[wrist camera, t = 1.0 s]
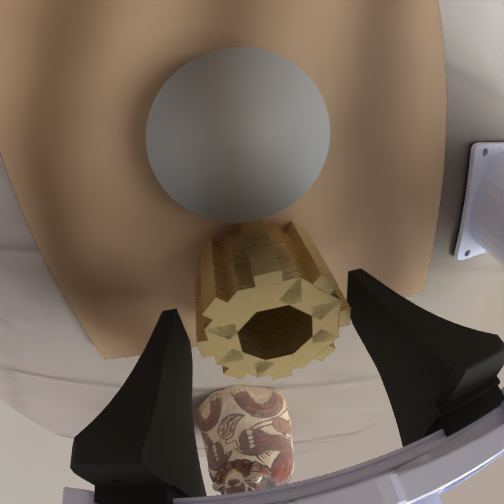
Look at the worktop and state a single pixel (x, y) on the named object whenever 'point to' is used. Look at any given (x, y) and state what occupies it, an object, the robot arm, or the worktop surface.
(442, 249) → the worktop surface
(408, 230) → the carrier plate
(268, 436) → the figurine
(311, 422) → the worktop surface
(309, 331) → the brass gear
